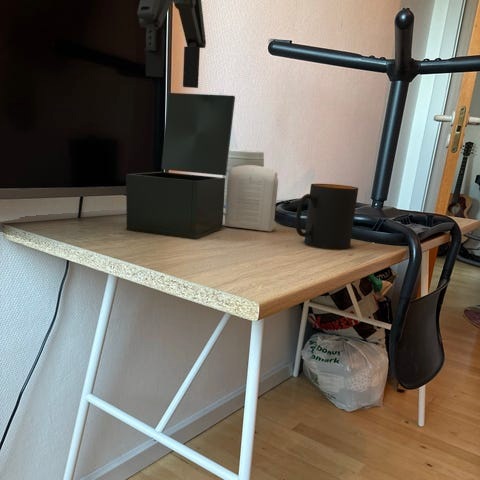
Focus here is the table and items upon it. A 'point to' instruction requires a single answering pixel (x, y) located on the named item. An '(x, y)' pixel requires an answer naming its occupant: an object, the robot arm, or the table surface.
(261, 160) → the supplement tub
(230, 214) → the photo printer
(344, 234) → the mug
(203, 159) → the bin lid
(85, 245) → the table surface
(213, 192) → the bin
